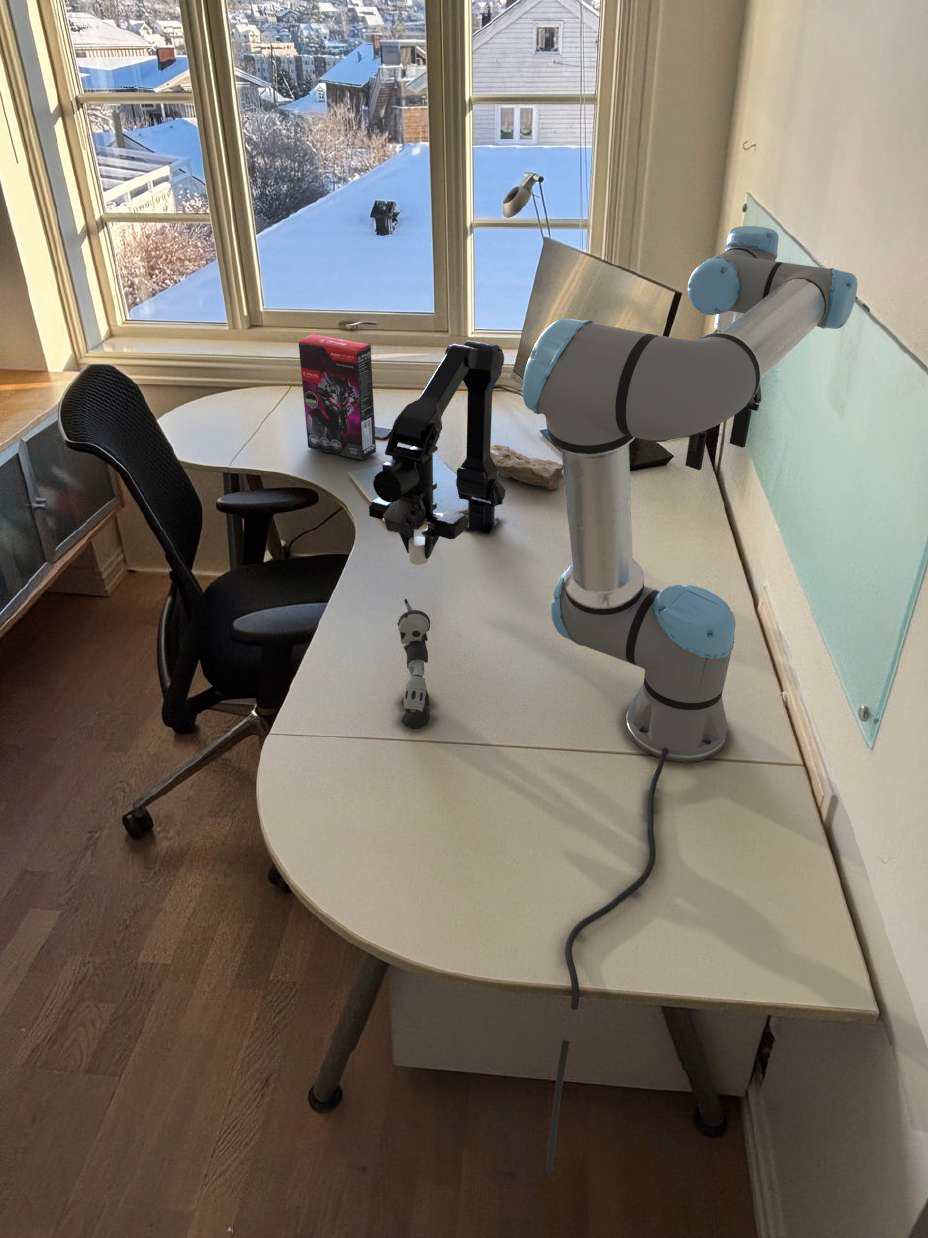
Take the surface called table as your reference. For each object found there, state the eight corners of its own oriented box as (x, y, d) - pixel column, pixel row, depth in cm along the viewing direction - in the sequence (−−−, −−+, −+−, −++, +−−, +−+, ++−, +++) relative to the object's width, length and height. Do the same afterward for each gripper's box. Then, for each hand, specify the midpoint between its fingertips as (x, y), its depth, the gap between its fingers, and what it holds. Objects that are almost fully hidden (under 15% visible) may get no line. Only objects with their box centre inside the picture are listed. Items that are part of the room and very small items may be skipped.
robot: (432, 752, 138) (431, 644, 127) (400, 753, 138) (395, 645, 127) (430, 673, 154) (428, 571, 143) (401, 674, 154) (397, 571, 143)
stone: (462, 471, 213) (468, 446, 211) (478, 460, 226) (484, 436, 224) (548, 498, 210) (555, 473, 207) (560, 485, 223) (567, 461, 221)
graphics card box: (305, 448, 231) (295, 340, 216) (321, 439, 236) (312, 332, 221) (363, 462, 225) (356, 351, 209) (378, 452, 230) (373, 343, 215)
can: (431, 557, 178) (431, 538, 176) (423, 566, 175) (423, 547, 173) (413, 553, 179) (413, 534, 177) (405, 562, 176) (405, 543, 174)
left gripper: (349, 485, 166) (354, 560, 174) (438, 509, 158) (438, 587, 167) (384, 463, 174) (387, 536, 182) (470, 485, 166) (469, 560, 175)
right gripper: (757, 312, 156) (736, 430, 168) (671, 343, 142) (654, 470, 153) (798, 321, 152) (772, 442, 164) (713, 354, 137) (692, 484, 149)
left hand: (418, 555), depth 176 cm, fingers closed on can, 4 cm apart
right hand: (715, 456), depth 158 cm, fingers open, 13 cm apart
